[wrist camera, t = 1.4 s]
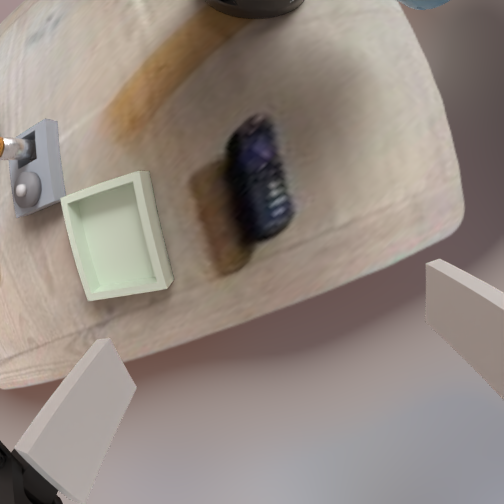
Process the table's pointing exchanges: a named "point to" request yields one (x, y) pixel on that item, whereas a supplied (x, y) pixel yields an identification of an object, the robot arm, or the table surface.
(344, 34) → the table surface
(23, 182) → the block
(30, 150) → the lock pin
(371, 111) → the table surface
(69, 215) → the tray
